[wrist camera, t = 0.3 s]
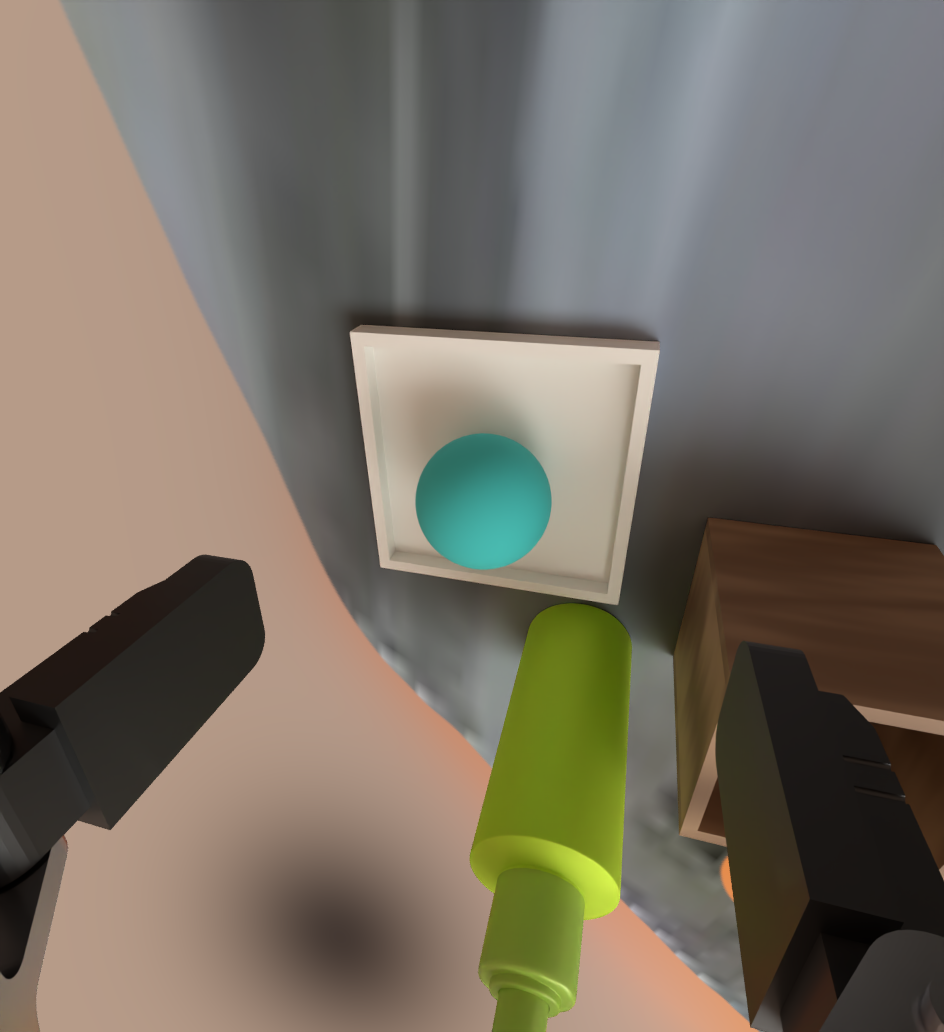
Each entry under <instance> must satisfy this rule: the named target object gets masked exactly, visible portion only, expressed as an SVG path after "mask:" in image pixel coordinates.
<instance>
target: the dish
mask: <svg viewBox="0 0 944 1032" xmlns="http://www.w3.org/2000/svg"><path fill="white" fill-rule="evenodd" d="M350 338H351V346H352V353H353V361H354V368H355V376H356V384H357V391H358V399H359V407H360V414H361V422H362V429H363V437H364V445H365V452H366V460H367V468H368V475H369V483H370V490H371V498H372V506H373V513H374V521H375V529H376V536H377V544H378V551H379V559H380V567H382V568H389V569H395V570H401V571H407V572H414V573H420V574H426V575H432V576H439V577H445V578H451V579H457V580H464V581H470V582H476V583H482V584H488V585H495V586H501V587H507V588H513V589H520V590H526V591H532V592H538V593H545V594H551V595H557V596H563V597H570V598H576V599H582V600H588V601H595V602H601V603H607V604H613V605H618V602H619V596H620V590H621V584H622V578H623V572H624V566H625V560H626V554H627V547H628V541H629V535H630V529H631V523H632V517H633V511H634V505H635V498H636V492H637V486H638V480H639V474H640V468H641V462H642V456H643V450H644V443H645V437H646V431H647V425H648V419H649V413H650V407H651V401H652V395H653V388H654V382H655V376H656V370H657V364H658V358H659V352H660V342H655V341H637V340H620V339H602V338H585V337H567V336H549V335H532V334H514V333H497V332H479V331H462V330H444V329H427V328H409V327H391V326H374V325H360V326H358V327H357V328H355V329H354V330H352V331H350ZM479 433H488V434H495V435H500V436H504V437H507V438H509V439H512V440H514V441H516V442H518V443H519V444H521V445H522V446H524V447H525V448H526V449H528V450H529V451H530V452H531V453H532V454H533V455H534V456H535V457H536V459H537V460H538V461H539V463H540V464H541V466H542V467H543V469H544V471H545V473H546V476H547V478H548V481H549V484H550V489H551V497H552V506H551V513H550V519H549V522H548V525H547V527H546V530H545V532H544V534H543V536H542V537H541V539H540V540H539V541H538V543H537V544H536V546H535V547H534V548H533V549H532V550H531V551H530V552H529V553H527V554H526V555H525V556H524V557H522V558H521V559H519V560H517V561H516V562H514V563H512V564H509V565H507V566H504V567H500V568H496V569H488V570H479V569H471V568H466V567H463V566H460V565H458V564H455V563H453V562H451V561H450V560H448V559H446V558H445V557H443V556H442V555H441V554H439V553H438V552H437V551H436V550H435V549H434V548H433V547H432V546H431V544H430V543H429V542H428V540H427V539H426V537H425V535H424V534H423V532H422V530H421V527H420V525H419V522H418V518H417V514H416V507H415V498H416V489H417V485H418V481H419V478H420V475H421V473H422V471H423V469H424V468H425V466H426V464H427V463H428V461H429V460H430V459H431V458H432V456H433V455H434V454H435V453H436V452H437V451H438V450H439V449H441V448H442V447H443V446H445V445H446V444H448V443H449V442H451V441H453V440H455V439H458V438H460V437H463V436H467V435H471V434H479Z"/></svg>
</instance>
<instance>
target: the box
mask: <svg viewBox="0 0 944 1032" xmlns="http://www.w3.org/2000/svg"><path fill="white" fill-rule="evenodd" d="M742 641H748V642H755V643H761V644H767V645H774V646H780V647H787V648H793V649H799V650H801V651H803V653H804V654H805V656H806V658H807V661H808V664H809V666H810V669H811V672H812V674H813V677H814V680H815V682H816V685H817V688H818V691H824V692H830V693H836V694H841V695H844V696H845V697H846V698H847V699H848V700H849V701H850V702H851V703H852V705H853V706H854V707H855V708H856V709H857V710H858V711H859V712H860V713H861V714H862V715H863V716H864V717H865V718H866V719H867V720H868V721H869V722H870V724H871V725H872V726H873V727H874V728H875V730H876V732H877V734H878V736H879V739H880V741H881V743H882V745H883V747H884V750H885V752H886V754H887V756H888V758H889V761H890V763H891V771H893V772H895V774H896V776H897V778H898V781H899V783H900V785H901V787H902V789H903V792H904V794H905V803H906V804H909V805H910V807H911V809H912V811H913V814H914V816H915V818H916V820H917V822H918V825H919V827H920V829H921V831H922V833H923V836H924V838H925V840H926V842H927V844H928V847H929V849H930V851H931V853H932V855H933V858H934V860H935V862H936V864H937V866H938V869H939V871H940V873H941V875H942V878H943V880H944V556H943V554H942V553H941V551H940V550H939V548H938V547H937V545H931V544H923V543H914V542H906V541H898V540H890V539H881V538H873V537H865V536H857V535H849V534H840V533H832V532H824V531H816V530H808V529H799V528H791V527H783V526H775V525H766V524H758V523H750V522H742V521H734V520H725V519H717V518H709V517H708V520H707V524H706V528H705V532H704V536H703V540H702V544H701V548H700V552H699V556H698V560H697V564H696V568H695V572H694V576H693V580H692V584H691V588H690V592H689V596H688V600H687V604H686V608H685V612H684V616H683V620H682V624H681V628H680V632H679V636H678V640H677V644H676V648H675V652H674V656H673V667H674V696H675V726H676V755H677V784H678V814H679V835H681V836H685V837H689V838H693V839H698V840H702V841H706V842H710V843H714V844H718V845H722V846H726V847H727V844H726V837H725V829H724V821H723V814H722V806H721V798H720V791H719V783H718V775H717V768H716V757H715V742H716V730H717V723H718V718H719V714H720V711H721V707H722V703H723V700H724V696H725V692H726V689H727V685H728V681H729V677H730V674H731V670H732V666H733V663H734V659H735V655H736V652H737V649H738V647H739V645H740V643H741V642H742Z"/></svg>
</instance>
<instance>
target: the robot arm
mask: <svg viewBox="0 0 944 1032" xmlns="http://www.w3.org/2000/svg"><path fill="white" fill-rule="evenodd" d="M264 642H265V630H264V625H263V620H262V616H261V611H260V607H259V601H258V597H257V592H256V587H255V582H254V577H253V573H252V570H251V568H250V566H249V565H248V564H247V563H246V562H245V561H243V560H236V559H230V558H223V557H217V556H211V555H200V556H198V557H196V558H194V559H193V560H191V561H190V562H189V563H188V564H186V565H185V566H184V567H182V568H181V569H179V570H178V571H177V572H175V573H174V574H173V575H171V576H170V577H168V578H167V579H166V580H164V581H162V582H160V583H157V584H155V585H153V586H151V587H149V588H146V589H144V590H142V591H140V592H138V593H136V594H135V595H133V596H132V597H131V598H129V599H128V600H127V601H125V602H124V603H122V604H121V605H120V606H118V607H117V608H116V609H114V610H113V611H112V612H111V615H110V616H105V617H103V618H102V619H101V620H99V621H98V622H96V623H95V624H94V625H92V626H91V627H90V628H89V631H88V632H83V633H81V634H80V635H79V636H78V637H76V638H75V639H73V640H72V641H70V642H69V643H68V644H66V645H65V646H63V647H62V648H61V649H59V650H58V651H57V652H55V653H54V654H53V655H51V656H50V657H49V658H47V659H46V660H44V661H43V662H42V663H40V664H39V665H37V666H36V667H35V668H33V669H32V670H31V671H29V672H28V673H27V674H25V675H24V676H22V677H21V678H20V679H18V680H17V681H15V682H14V683H13V684H12V685H10V686H9V687H7V688H6V689H4V690H3V691H2V692H0V1032H40V1028H39V1023H38V1018H37V1011H36V994H37V985H38V981H39V976H40V972H41V967H42V963H43V959H44V954H45V950H46V945H47V941H48V937H49V932H50V928H51V923H52V919H53V915H54V910H55V906H56V902H57V897H58V893H59V888H60V884H61V880H62V875H63V871H64V866H65V862H66V858H67V852H68V844H67V840H66V838H65V836H64V834H65V833H66V832H67V831H68V830H69V829H70V828H71V827H72V826H73V825H74V824H75V822H76V821H77V820H78V821H82V822H85V823H88V824H92V825H95V826H98V827H102V828H105V829H108V830H111V829H112V828H113V827H114V825H115V824H116V823H117V822H118V821H119V820H120V819H121V817H122V816H123V815H124V814H125V813H126V812H127V811H128V810H129V808H130V807H131V806H132V805H133V804H134V803H135V801H137V799H138V798H139V797H140V796H141V795H142V794H143V793H144V791H145V790H146V789H147V788H148V787H149V786H150V785H151V783H152V782H153V781H154V780H155V779H156V778H157V777H158V776H159V774H160V773H161V772H162V771H163V770H164V769H165V768H166V766H167V765H168V764H169V763H170V762H171V761H172V759H173V758H174V757H175V756H176V755H177V754H178V753H179V752H180V750H181V749H182V748H183V747H184V746H185V745H186V744H187V742H188V741H189V740H190V739H191V738H192V737H193V736H194V735H195V733H196V732H197V731H198V730H199V729H200V728H201V727H202V726H203V724H204V723H205V722H206V721H207V720H208V719H209V718H210V716H211V715H212V714H213V713H214V712H215V711H216V710H217V708H218V707H219V706H220V705H221V704H222V703H223V702H224V701H225V699H226V698H227V697H228V696H229V695H230V693H232V691H233V690H234V689H235V688H236V687H237V686H238V685H239V683H240V682H241V681H242V680H243V679H244V678H245V677H246V675H247V674H248V673H249V672H250V671H251V670H252V669H253V667H254V666H255V665H256V663H257V662H258V660H259V658H260V656H261V653H262V650H263V647H264ZM715 757H716V768H717V775H718V783H719V791H720V798H721V806H722V814H723V821H724V829H725V837H726V844H727V852H728V860H729V867H730V875H731V883H732V890H733V898H734V906H735V913H736V921H737V929H738V936H739V944H740V952H741V959H742V967H743V975H744V982H745V990H746V997H747V1005H748V1013H749V1020H750V1027H751V1028H755V1029H758V1030H761V1031H765V1032H944V880H943V878H942V875H941V873H940V871H939V869H938V866H937V864H936V862H935V860H934V858H933V855H932V853H931V851H930V849H929V847H928V844H927V842H926V840H925V838H924V836H923V833H922V831H921V829H920V827H919V825H918V822H917V820H916V818H915V816H914V814H913V811H912V809H911V807H910V805H909V804H906V803H905V794H904V792H903V789H902V787H901V785H900V783H899V781H898V778H897V776H896V774H895V772H893V771H891V763H890V761H889V758H888V756H887V754H886V752H885V750H884V747H883V745H882V743H881V741H880V739H879V736H878V734H877V732H876V730H875V728H874V727H873V726H872V725H871V724H870V722H869V721H868V720H867V719H866V718H865V717H864V716H863V715H862V714H861V713H860V712H859V711H858V710H857V709H856V708H855V707H854V706H853V705H852V703H851V702H850V701H849V700H848V699H847V698H846V697H845V696H844V695H841V694H836V693H830V692H824V691H818V688H817V685H816V682H815V680H814V677H813V674H812V672H811V669H810V666H809V664H808V661H807V658H806V656H805V654H804V653H803V651H801V650H799V649H793V648H787V647H780V646H774V645H767V644H761V643H755V642H748V641H742V642H741V643H740V645H739V647H738V649H737V652H736V655H735V659H734V663H733V666H732V670H731V674H730V677H729V681H728V685H727V689H726V692H725V696H724V700H723V703H722V707H721V711H720V714H719V718H718V723H717V730H716V742H715Z"/></svg>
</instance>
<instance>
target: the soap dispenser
mask: <svg viewBox="0 0 944 1032" xmlns="http://www.w3.org/2000/svg"><path fill="white" fill-rule="evenodd" d="M631 654H632V644H631V639H630V636H629V634H628V632H627V630H626V629H625V627H624V626H623V625H622V624H621V623H620V622H619V621H618V620H617V619H616V618H615V617H613V616H612V615H610V614H609V613H607V612H605V611H603V610H601V609H599V608H596V607H593V606H589V605H585V604H577V603H566V604H559V605H555V606H552V607H549V608H547V609H545V610H543V611H542V612H540V613H539V614H538V615H537V616H536V617H535V618H534V619H533V621H532V622H531V624H530V627H529V630H528V633H527V637H526V641H525V645H524V649H523V653H522V657H521V660H520V664H519V668H518V672H517V676H516V680H515V683H514V687H513V691H512V695H511V699H510V703H509V706H508V710H507V714H506V718H505V722H504V726H503V730H502V733H501V737H500V741H499V745H498V749H497V753H496V756H495V760H494V764H493V768H492V772H491V776H490V780H489V784H488V787H487V791H486V795H485V799H484V803H483V806H482V811H481V814H480V818H479V822H478V826H477V830H476V833H475V837H474V841H473V845H472V849H471V853H470V865H471V868H472V870H473V872H474V874H475V875H476V877H477V878H478V879H479V881H480V882H481V883H482V884H483V885H484V886H485V887H486V888H488V889H489V890H490V891H491V892H493V893H494V897H493V902H492V907H491V911H490V916H489V921H488V925H487V930H486V935H485V939H484V944H483V949H482V954H481V958H480V963H479V970H478V974H479V977H480V979H481V981H482V982H483V984H484V985H485V986H486V987H487V988H489V991H490V993H491V995H492V996H493V997H494V998H495V999H496V1000H497V1006H496V1013H495V1018H494V1023H493V1029H492V1032H546V1028H547V1020H548V1018H550V1017H554V1016H557V1015H558V1014H559V1013H560V1012H565V1011H568V1010H570V1009H571V1008H572V1007H573V1006H574V1004H575V1001H576V995H577V984H578V974H579V963H580V952H581V941H582V930H583V920H590V919H596V918H600V917H603V916H605V915H607V914H609V913H610V912H612V911H613V910H614V909H615V908H616V907H617V905H618V903H619V900H620V889H621V868H622V846H623V825H624V804H625V782H626V761H627V739H628V718H629V697H630V675H631Z"/></svg>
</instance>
